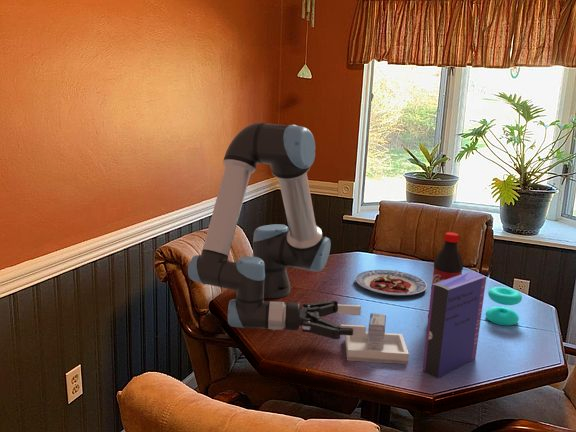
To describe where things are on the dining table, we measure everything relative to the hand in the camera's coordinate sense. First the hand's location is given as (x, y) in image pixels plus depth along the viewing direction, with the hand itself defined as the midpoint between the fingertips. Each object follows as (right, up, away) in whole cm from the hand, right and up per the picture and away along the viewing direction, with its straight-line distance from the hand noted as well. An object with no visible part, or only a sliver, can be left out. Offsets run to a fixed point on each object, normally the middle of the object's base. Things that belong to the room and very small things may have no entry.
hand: (363, 320), depth 153 cm
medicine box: (+4, -8, +2) cm, 9 cm away
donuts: (+48, -5, +27) cm, 55 cm away
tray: (+4, -9, +2) cm, 10 cm away
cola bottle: (+27, -6, +19) cm, 33 cm away
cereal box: (+23, -11, -3) cm, 25 cm away
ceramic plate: (+17, +2, +53) cm, 56 cm away
